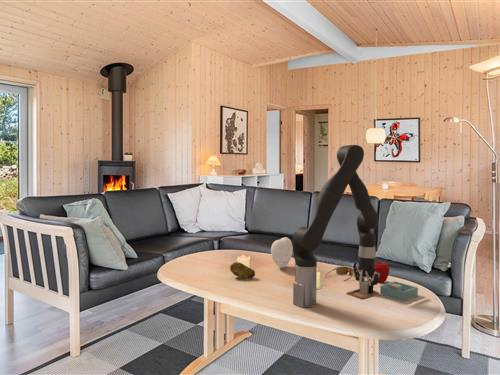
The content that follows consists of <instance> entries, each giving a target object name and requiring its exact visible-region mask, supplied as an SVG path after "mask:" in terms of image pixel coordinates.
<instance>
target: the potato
mask: <svg viewBox="0 0 500 375" xmlns="http://www.w3.org/2000/svg"><path fill="white" fill-rule="evenodd" d="M229 269H230V272H231V273H232V274H233V275H234V276H236V277H237V278H239V279H241V278H242V280H249V279H252V278H254V277H255V276H256V272H255V270H254V269H252V268H251V267H249V266H247V265H245V264H243V263H241V262H239V261H235V262H233V263H232V264H230V266H229Z"/></svg>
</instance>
